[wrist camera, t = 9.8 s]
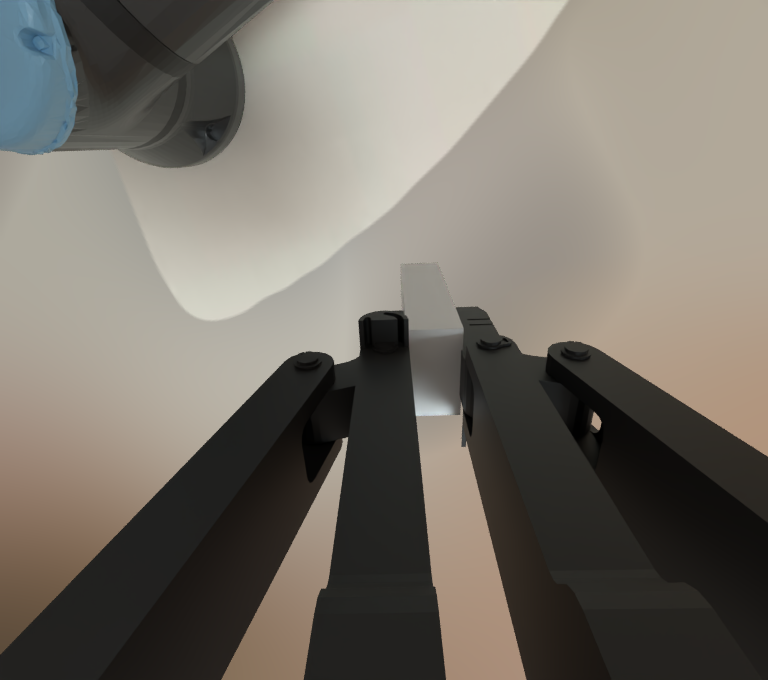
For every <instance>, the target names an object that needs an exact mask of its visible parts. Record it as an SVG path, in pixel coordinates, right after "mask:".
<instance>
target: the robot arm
mask: <svg viewBox="0 0 768 680" xmlns="http://www.w3.org/2000/svg"><path fill="white" fill-rule="evenodd" d="M272 1H274V0H0V150H3V151H13V152H17V153H21V154H28V155H35V154H43V153H50V152H51V151H80V150H81V151H82V150H114V149H117V150H119V151H121V152H123V153H125V154H126V155H128V156H130V157H132V158H134V159H136V160H138V161H141V162H143V163H146V164H149V165H153V166H158V167H164V168H180V167H189V166H195V165H199V164H202V163H205V162H207V161H209V160H211V159H212V158H214V157H216V156H217V155H218V154H219V153H221V152H222V151H223V150H224V149H225V148H226V147H227V146H228V144H229V143H230V142H231V140H232V139H233V137H234V135H235V134H236V132H237V130H238V127H239V125H240V122H241V119H242V115H243V110H244V103H245V83H244V75H243V70H242V66H241V62H240V59H239V55H238V53H237V50H236V48H235V45H234V43H233V41H232V39H231V36H232V35H233V34H235V33H236V32H237V31H238V30H239V29H241V28H242V27H243V26H244V25H245V24H246V23H248V22H249V21H250V20H251V19H252V18H254V17H255V16H256V15H257V14H258V13H259V12H261V11H262V10H263V9H264V8H265V7H267V6H268V5H269V4H270V3H271V2H272ZM401 295H402V311H377V312H372V313H368V314H366V315H364V316H362V317H361V318H360V319H359V321H358V322H359V335H360V349H361V350H360V356H359V357H357V358H356V359H354V360H351V361H349V362H346V363H341V364H337V365H334V360H333V358H332V357H331V356H329V355H328V354H326V353H320V352H306V353H304V352H303V353H299V354H298V355H295V356H292V357H290V358H289V359H287V360H286V361H285V362H284V363H283V364H282V365H281V366H280V367H279V368H278V369H277V370H276V371H275V372H274V373H273V374H272V375H271V376H270V377H269V378H268V379H267V380H266V381H265V382H264V383H263V384H262V386H260V387H259V389H258V390H257V391H256V392H255V393H254V394H253V395H252V396H251V397H250V398H249V399H248V400H247V401H246V402H245V403H244V404H243V405H242V406H241V407H240V408H239V409H238V410H237V411H236V412H235V413H234V414H233V415H232V416H231V417H230V418H229V419H228V421H227V422H226V423H225V424H224V425H223V426H222V427H221V428H220V429H219V430H218V431H217V432H216V433H215V434H214V435H213V436H212V437H211V438H210V439H209V440H208V441H207V442H206V443H205V444H204V445H203V446H202V447H201V448H200V449H199V450H198V451H197V452H196V454H195V455H194V456H193V457H192V458H191V459H190V460H189V461H188V462H187V463H186V464H185V465H184V466H183V467H182V468H181V469H180V470H179V471H178V472H177V473H176V474H175V475H174V476H173V477H172V478H171V479H170V480H169V482H167V483H166V484H165V486H164V487H163V488H162V489H161V490H160V491H159V492H158V493H157V494H156V495H155V496H154V497H153V498H152V499H151V500H150V501H149V502H148V503H147V504H146V505H145V506H144V507H143V508H142V509H141V510H140V511H139V512H138V513H137V514H136V515H135V516H134V517H133V518H132V520H131V521H130V522H129V523H128V524H127V525H126V526H125V527H124V528H123V529H122V530H121V531H120V532H119V533H118V534H117V535H116V536H115V537H114V538H113V539H112V540H111V541H110V542H109V543H108V544H107V545H106V546H105V547H104V548H103V549H102V551H101V552H100V553H99V554H98V555H97V556H96V557H95V558H94V559H93V560H92V561H91V562H90V563H89V564H88V565H87V566H86V567H85V568H84V569H83V570H82V571H81V572H80V573H79V574H78V575H77V576H76V577H75V578H74V579H73V580H72V581H71V583H70V584H69V585H68V586H67V587H66V588H65V589H64V590H63V591H62V592H61V593H60V594H59V595H58V596H57V597H56V598H55V599H54V600H53V601H52V602H51V603H50V604H49V605H48V606H47V607H46V608H45V609H44V610H43V611H42V613H40V614H39V616H37V618H36V619H35V620H34V621H33V622H32V623H31V624H30V625H29V626H28V627H27V628H26V629H25V630H24V631H23V632H22V633H21V634H20V635H19V636H18V637H17V638H16V639H15V640H14V641H13V642H12V643H11V644H10V646H8V648H6V649H5V651H4V652H3V653H2V654H1V655H0V680H221V679H222V677H223V675H224V673H225V671H226V669H227V667H228V665H229V663H230V662H231V660H232V658H233V656H234V653H235V652H236V650H237V648H238V646H239V644H240V642H241V640H242V638H243V636H244V634H245V633H246V631H247V628H248V627H249V625H250V623H251V621H252V619H253V617H254V615H255V613H256V611H257V609H258V607H259V606H260V604H261V602H262V600H263V598H264V596H265V594H266V592H267V590H268V588H269V586H270V584H271V583H272V581H273V579H274V577H275V575H276V573H277V571H278V569H279V567H280V565H281V563H282V561H283V559H284V557H285V555H286V554H287V552H288V550H289V548H290V546H291V544H292V542H293V540H294V538H295V536H296V534H297V532H298V530H299V528H300V527H301V525H302V523H303V521H304V519H305V517H306V515H307V513H308V511H309V509H310V507H311V505H312V503H313V501H314V500H315V498H316V496H317V494H318V492H319V490H320V488H321V486H322V484H323V482H324V480H325V478H326V476H327V475H328V473H329V471H330V469H331V467H332V465H333V463H334V461H335V459H336V457H337V455H338V453H339V451H340V450H341V447H342V442H343V441H342V438H346V437H348V444H347V451H346V458H345V465H344V473H343V480H342V487H341V495H340V502H339V509H338V517H337V524H336V531H335V539H334V545H333V553H332V560H331V568H330V575H329V581H328V585H327V587H326V589H321V590H320V593H319V595H318V598H317V603H316V608H315V613H314V619H313V625H312V631H311V637H310V644H309V650H308V657H307V663H306V669H305V675H304V680H446V676H445V666H444V656H443V647H442V639H441V628H440V619H439V610H438V602H437V594H436V589H435V587H433V583H432V575H431V566H430V555H429V545H428V534H427V524H426V514H425V504H424V494H423V484H422V474H421V463H420V453H419V443H418V433H417V423H416V416H433V415H460V406H461V402H462V406H463V426H462V447H465V446H466V441H467V444H468V448H469V452H470V456H471V460H472V464H473V468H474V472H475V476H476V480H477V484H478V488H479V492H480V496H481V500H482V504H483V508H484V512H485V516H486V520H487V524H488V528H489V532H490V536H491V540H492V544H493V548H494V552H495V556H496V560H497V564H498V568H499V572H500V576H501V580H502V584H503V588H504V592H505V596H506V600H507V604H508V608H509V612H510V616H511V620H512V624H513V627H514V632H515V636H516V639H517V643H518V647H519V652H520V656H521V659H522V663H523V667H524V671H525V675H526V679H527V680H768V457H767V456H766V455H764V454H762V453H761V452H759V451H758V450H756V449H755V448H753V447H752V446H750V445H748V444H747V443H745V442H744V441H742V440H741V439H739V438H737V437H735V436H734V435H733V434H731V433H729V432H728V431H726V430H725V429H723V428H722V427H720V426H718V425H717V424H715V423H714V422H712V421H711V420H709V419H707V418H706V417H704V416H702V415H701V414H699V413H698V412H696V411H695V410H693V409H692V408H690V407H688V406H687V405H685V404H684V403H682V402H681V401H679V400H677V399H676V398H674V397H672V396H671V395H670V394H668V393H666V392H665V391H663V390H661V389H660V388H658V387H657V386H655V385H654V384H652V383H651V382H649V381H647V380H646V379H644V378H642V377H641V376H640V375H638V374H636V373H635V372H633V371H632V370H630V369H628V368H627V367H625V366H624V365H622V364H621V363H619V362H617V361H616V360H614V359H613V358H611V357H610V356H608V355H606V354H605V353H603V352H602V351H600V350H598V349H596V348H594V347H592V346H590V345H586V344H583V343H581V342H574V341H568V342H560V343H556V344H552V345H551V346H550V347H549V348H548V354H547V357H538V356H531V355H525V354H522V353H521V351H520V350H519V348H518V347H517V345H516V344H515V342H513V341H512V340H511V339H509V338H507V337H505V336H500V335H499V334H498V332H497V330H496V329H495V327H494V325H493V323H492V321H491V320H490V318H489V316H488V314H487V313H486V312H485V311H484V310H482V309H480V308H478V307H455V306H454V303H453V300H452V297H451V295H450V292H449V290H448V287H447V285H446V282H445V280H444V277H443V275H442V272H441V270H440V267H439V264H438V263H419V264H418V263H417V264H401ZM594 412H595V413H596V414H597V415H598V416H599V417H600V420H601V422H602V423H601V428H600V430H597V429H596V428H595V427H594V426H593V425H591V423H592V417H593V413H594Z"/></svg>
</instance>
